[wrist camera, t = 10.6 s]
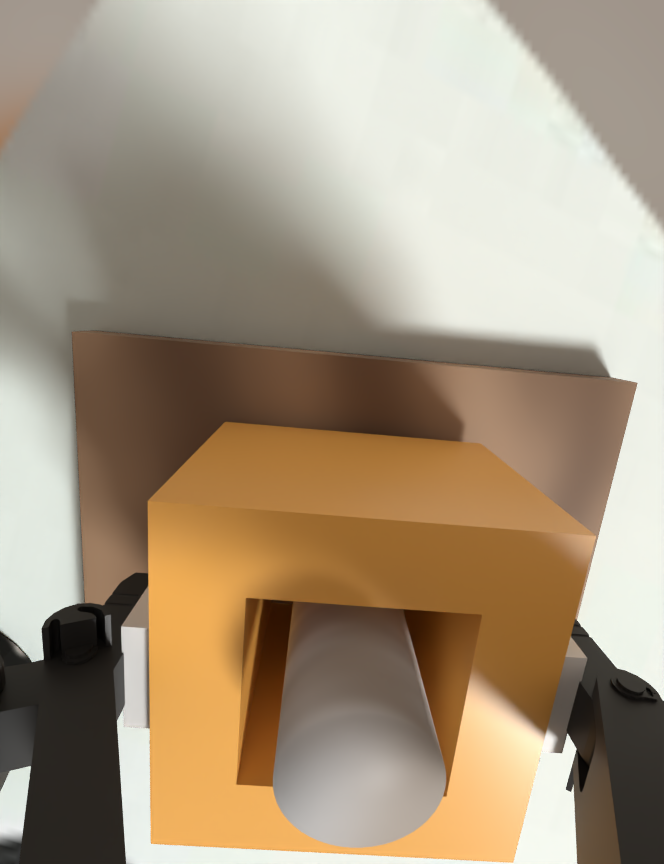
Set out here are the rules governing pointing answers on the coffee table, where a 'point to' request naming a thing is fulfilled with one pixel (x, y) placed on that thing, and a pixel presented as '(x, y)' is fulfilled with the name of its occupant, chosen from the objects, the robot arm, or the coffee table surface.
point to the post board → (323, 395)
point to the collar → (359, 586)
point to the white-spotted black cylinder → (11, 653)
